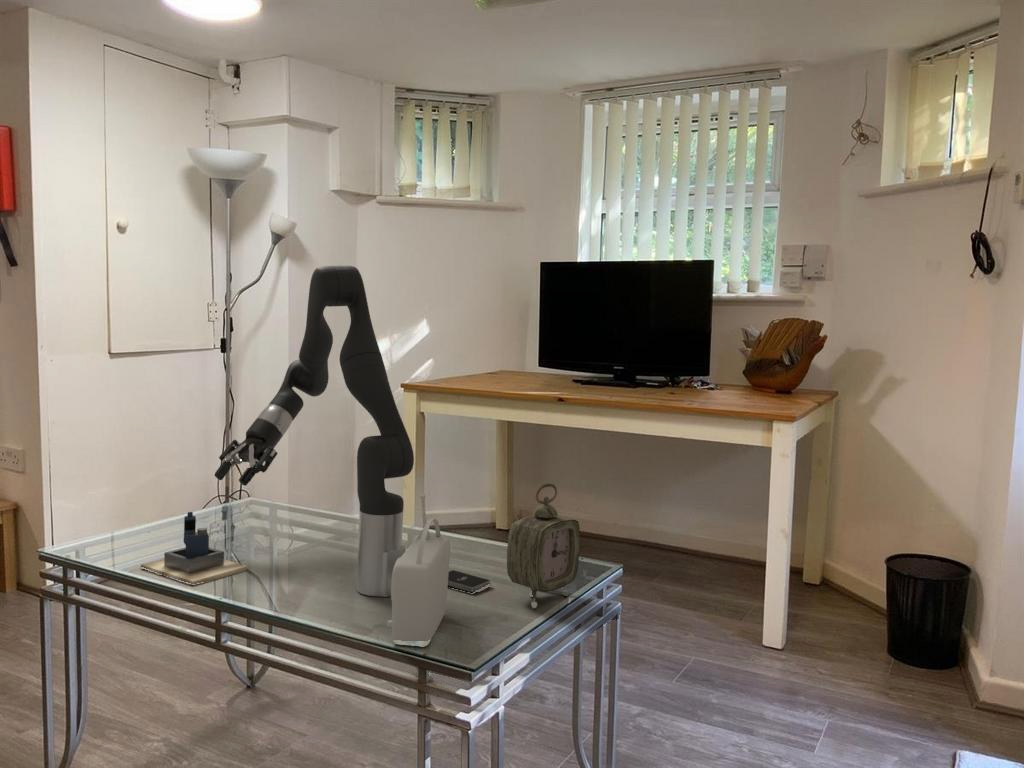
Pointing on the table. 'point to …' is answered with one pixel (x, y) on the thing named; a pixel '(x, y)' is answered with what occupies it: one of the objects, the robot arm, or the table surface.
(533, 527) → the tabletop clock
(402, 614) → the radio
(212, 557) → the square socket
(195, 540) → the vaping device
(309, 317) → the robot arm
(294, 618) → the table surface
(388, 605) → the table surface
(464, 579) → the external hard drive
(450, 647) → the table surface
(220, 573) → the mounting board
